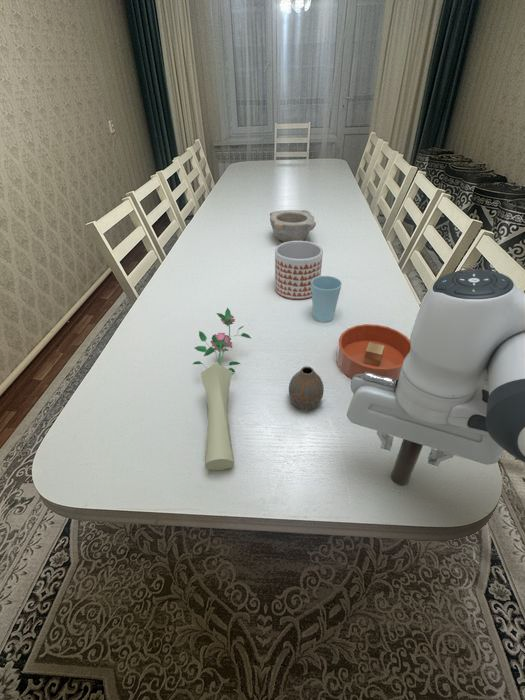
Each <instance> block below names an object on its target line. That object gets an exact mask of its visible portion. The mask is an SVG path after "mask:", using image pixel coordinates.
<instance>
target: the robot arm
mask: <svg viewBox="0 0 525 700" xmlns="http://www.w3.org/2000/svg"><path fill="white" fill-rule="evenodd" d="M412 326H413V327H412V330H411V332H410V337H409V340H410V347H411V348H410V352H409V353H408V354H407V356H406V357H405V359H404V361H403V365H402V368H401V371H400V375H399V379H398V380H397V379H393V378H389V377H385V376H384V377H383V376H377V375H375V374H373V373H370V372H364V374H356V375H355V376H353V378H352V379H351V381H350V391H351V392H352V394H353V395H352V397H351V400H350V403H349V406H348V409H347V412H346V417H347V420H349V422H350V423H351V424H355V425H357V426H360V427H364V428H367V429H370V430H373V431H376V435H377V437H378V438H379V440H380V442H381V444H380V449H382V450H385V451H390V452H391V449H392V446H393V441H394V438H395V437H396V438H399V439H402V440H403V439H405V440H408V441H411V442H415V443H418V444H421V445H423V447H424V446H425V447H428V448H430V451H429V453H428V456H427V464H428V465H430V466H431V465H432V466H435V467H439V466H440V464H441V462H444V461H446V460H450V459H452V458H453V457H454V456H456V457H460V458H463V459H467V460H469V461H472V462H476V463H479V464H482V465H485V466H489V465H493V464H496V463H498V462H499V460H500V459H501V457H502V455H503V454H504V451H505V452H507V453H508V454H509V455H511V456H512V457H514V458H516V459H517V460H519V461H521V462H522V463H525V292H524V291H523V290H522V289H521V288H520V287H519V286H517V284H516V283H515V282H514V280H513V279H512V278H511V277H510V276H507V275H506V274H503V273H500V272H498V271H494V270H493V271H492V270H489V269H483V268H468V269H467V268H466V269H461V270H456V271H453V272H450V273H447V274H445V275H443V276H441V277H440V278H438V279H437V280H436V281H434V283H433V284H432V285H431V286H430V288H428V290H427V292H426V294H425V296H424V298H423V300H422V301H421V304H420V306H419V309H418V311H417V315H416V317H415V320H414V323H413V325H412Z"/></svg>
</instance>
